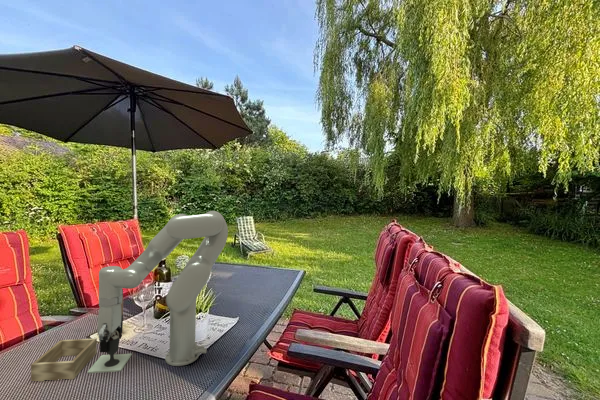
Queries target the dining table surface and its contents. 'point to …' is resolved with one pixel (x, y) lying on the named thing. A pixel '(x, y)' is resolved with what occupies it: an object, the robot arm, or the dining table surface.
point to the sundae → (113, 348)
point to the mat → (101, 368)
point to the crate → (66, 369)
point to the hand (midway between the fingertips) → (110, 344)
